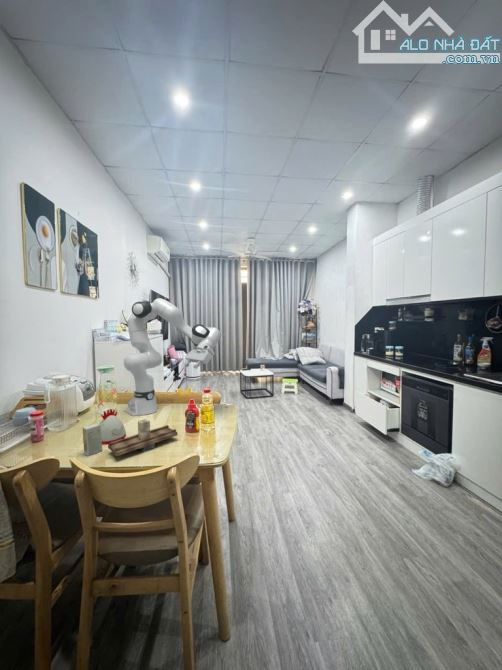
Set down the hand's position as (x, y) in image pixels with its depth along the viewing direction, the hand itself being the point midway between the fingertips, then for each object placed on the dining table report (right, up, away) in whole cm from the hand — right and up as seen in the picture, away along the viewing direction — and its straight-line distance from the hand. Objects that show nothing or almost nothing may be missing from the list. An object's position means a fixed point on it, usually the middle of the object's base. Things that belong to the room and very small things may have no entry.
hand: (190, 367), depth 157 cm
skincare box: (-35, -34, -39) cm, 62 cm away
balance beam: (-14, -33, -34) cm, 49 cm away
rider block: (-14, -29, -34) cm, 47 cm away
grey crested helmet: (-35, -33, -25) cm, 54 cm away
